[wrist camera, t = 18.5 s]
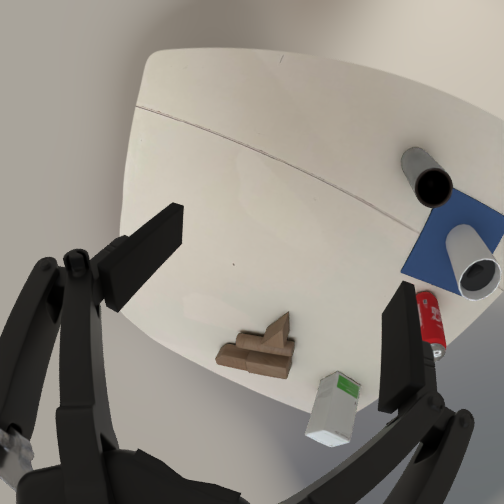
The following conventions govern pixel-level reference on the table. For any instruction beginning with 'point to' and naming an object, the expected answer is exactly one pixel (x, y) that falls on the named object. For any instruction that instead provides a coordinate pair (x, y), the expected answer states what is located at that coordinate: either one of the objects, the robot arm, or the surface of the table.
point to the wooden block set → (261, 351)
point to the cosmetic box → (334, 410)
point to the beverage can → (431, 323)
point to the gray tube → (426, 178)
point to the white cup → (472, 263)
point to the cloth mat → (435, 233)
